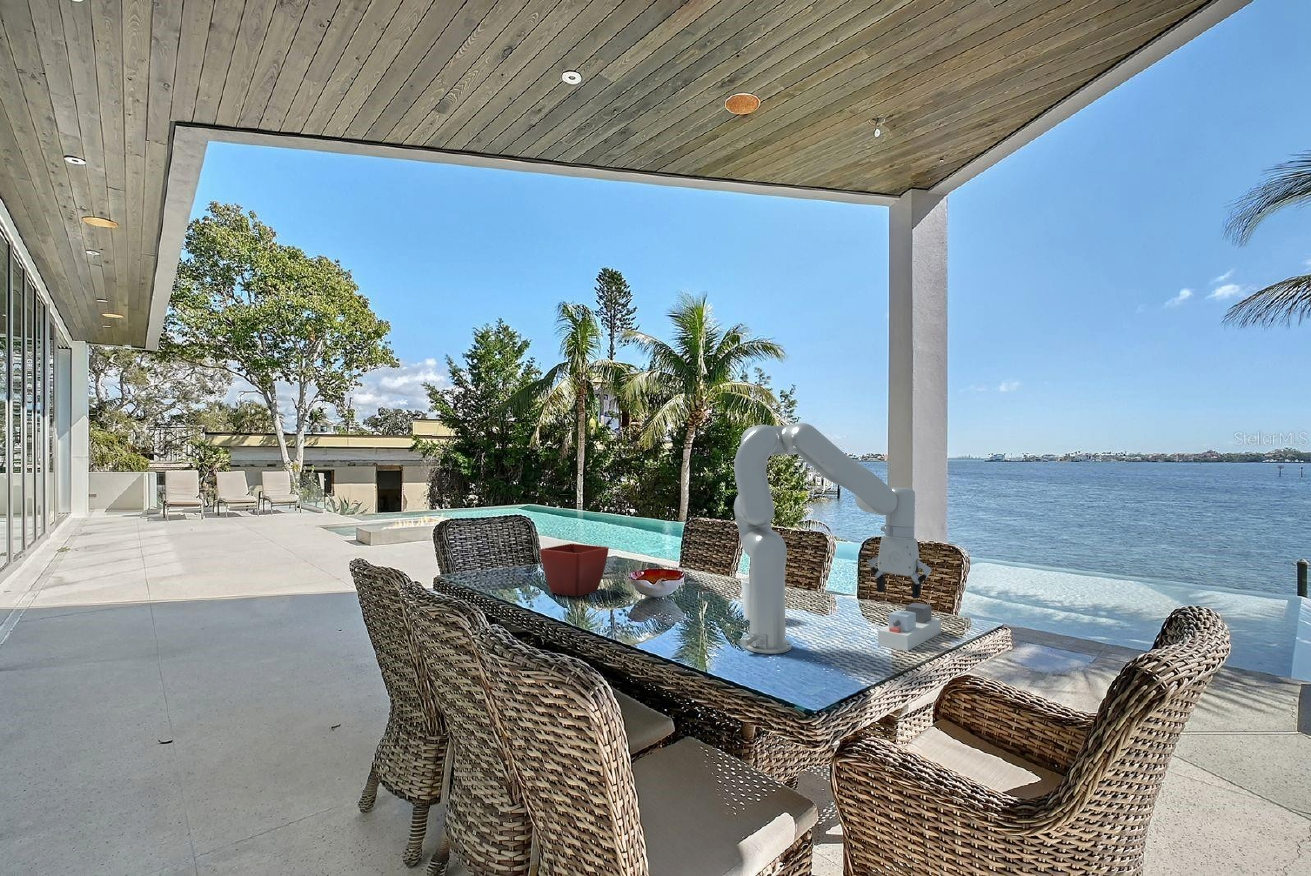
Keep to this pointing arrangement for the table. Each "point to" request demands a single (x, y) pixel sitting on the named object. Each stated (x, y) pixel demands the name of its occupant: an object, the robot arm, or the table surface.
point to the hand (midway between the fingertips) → (898, 594)
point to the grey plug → (902, 620)
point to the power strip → (909, 635)
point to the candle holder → (746, 598)
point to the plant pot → (574, 568)
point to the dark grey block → (920, 611)
